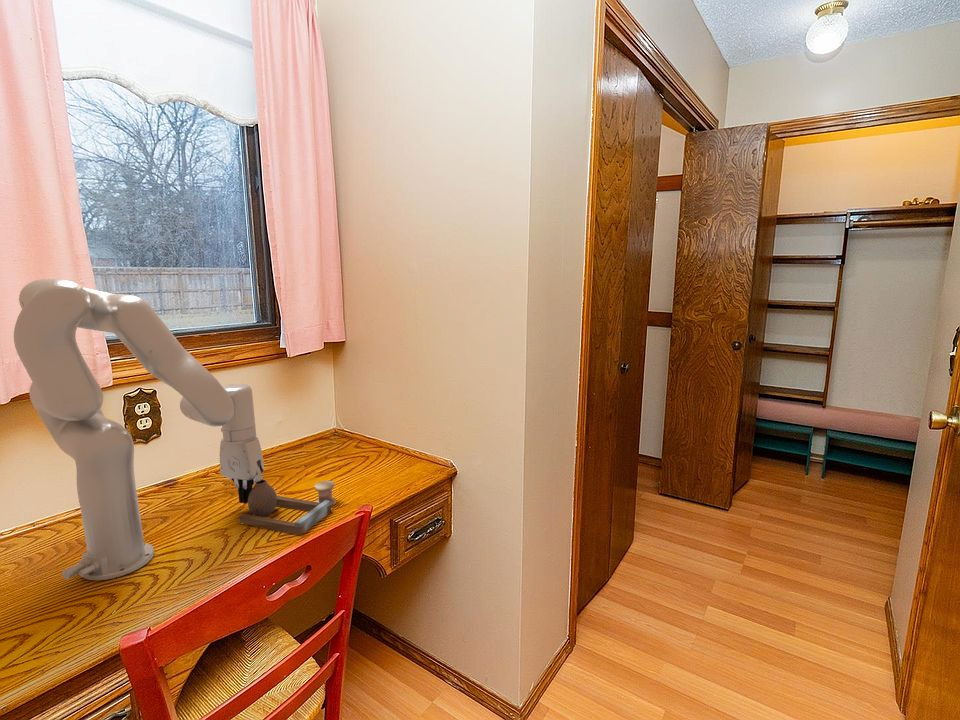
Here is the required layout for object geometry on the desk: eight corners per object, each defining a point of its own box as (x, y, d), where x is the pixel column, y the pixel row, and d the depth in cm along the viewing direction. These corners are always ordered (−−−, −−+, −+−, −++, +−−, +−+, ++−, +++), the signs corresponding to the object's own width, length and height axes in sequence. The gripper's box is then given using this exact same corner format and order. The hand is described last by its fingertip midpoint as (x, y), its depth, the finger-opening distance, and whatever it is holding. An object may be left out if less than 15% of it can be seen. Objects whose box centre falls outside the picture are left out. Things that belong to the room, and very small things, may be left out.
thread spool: (328, 508, 128) (327, 489, 127) (312, 506, 129) (310, 487, 128) (339, 500, 133) (338, 481, 132) (323, 498, 134) (321, 479, 133)
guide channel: (300, 535, 115) (300, 523, 115) (239, 523, 121) (238, 512, 120) (331, 511, 127) (330, 500, 126) (273, 502, 132) (272, 491, 131)
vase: (242, 517, 124) (239, 484, 122) (263, 505, 130) (260, 474, 129) (264, 522, 121) (261, 489, 120) (284, 509, 128) (281, 478, 126)
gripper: (203, 435, 122) (211, 503, 126) (253, 441, 118) (260, 511, 121) (227, 426, 129) (234, 491, 133) (274, 431, 125) (280, 498, 128)
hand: (246, 500), depth 127 cm, fingers closed
